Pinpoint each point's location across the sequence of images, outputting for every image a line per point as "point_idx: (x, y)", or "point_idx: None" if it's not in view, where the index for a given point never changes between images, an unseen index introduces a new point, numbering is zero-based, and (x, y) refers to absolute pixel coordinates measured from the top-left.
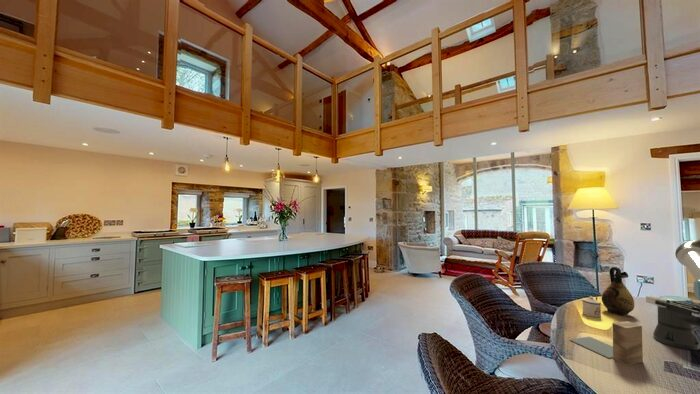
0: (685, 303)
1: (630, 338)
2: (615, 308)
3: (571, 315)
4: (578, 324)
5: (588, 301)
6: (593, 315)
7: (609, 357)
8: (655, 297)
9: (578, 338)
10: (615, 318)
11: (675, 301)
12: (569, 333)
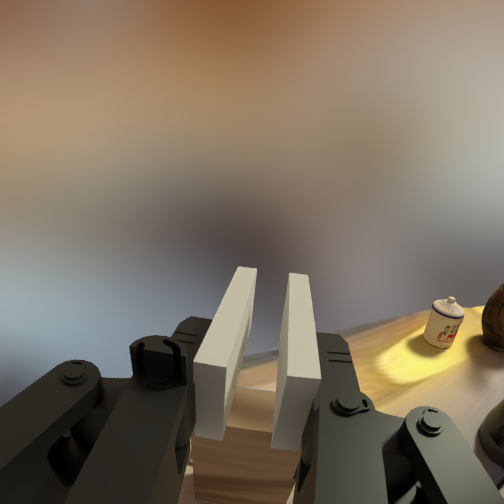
0: (432, 485)
1: (219, 456)
2: (491, 333)
3: (386, 333)
4: (355, 356)
5: (437, 307)
6: (433, 342)
7: (192, 462)
8: (290, 296)
9: (251, 389)
10: (475, 355)
11: (337, 407)
12: (268, 371)
